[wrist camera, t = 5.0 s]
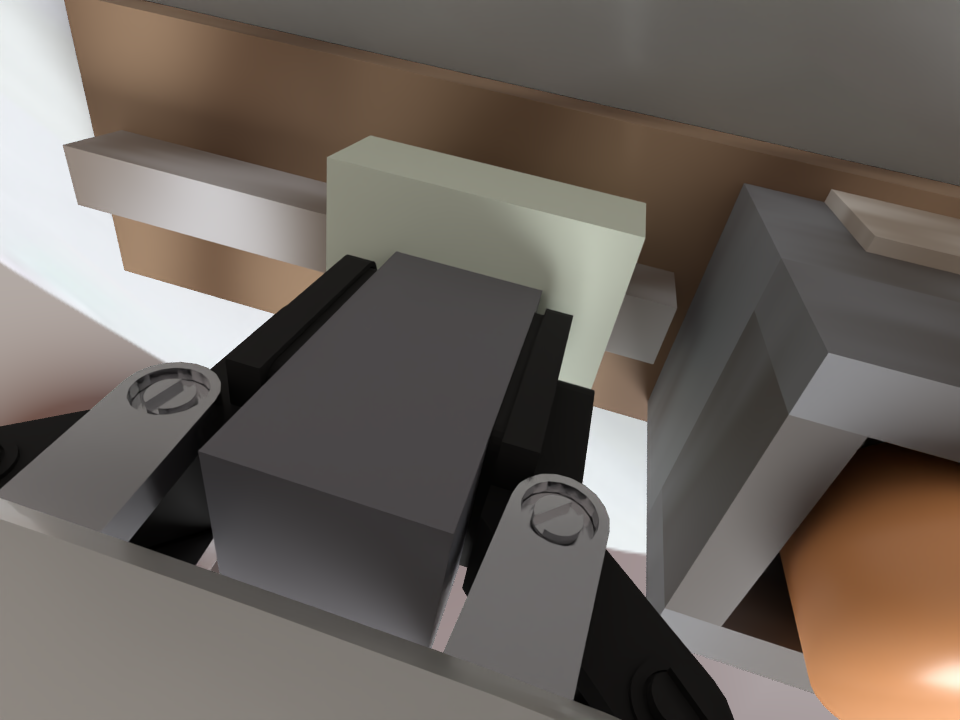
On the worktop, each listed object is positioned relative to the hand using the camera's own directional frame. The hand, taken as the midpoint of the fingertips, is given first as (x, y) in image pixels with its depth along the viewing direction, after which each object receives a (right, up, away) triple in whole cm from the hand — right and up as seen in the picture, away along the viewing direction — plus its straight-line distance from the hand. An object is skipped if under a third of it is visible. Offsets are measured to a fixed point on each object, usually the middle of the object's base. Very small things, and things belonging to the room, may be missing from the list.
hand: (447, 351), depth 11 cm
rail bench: (+1, +4, +5) cm, 7 cm away
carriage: (+1, +2, +4) cm, 5 cm away
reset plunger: (+8, -3, -2) cm, 9 cm away
